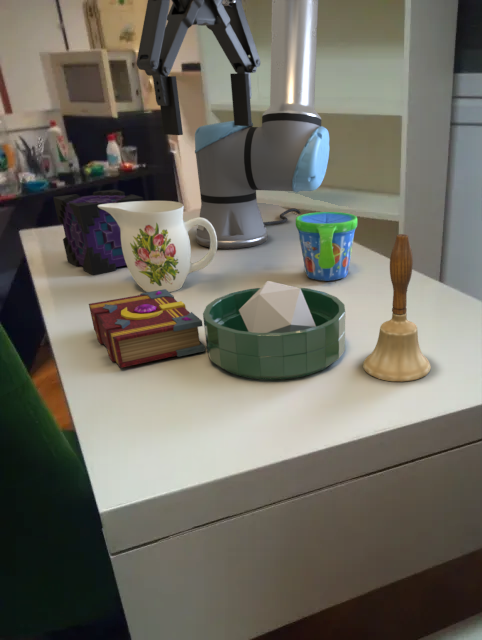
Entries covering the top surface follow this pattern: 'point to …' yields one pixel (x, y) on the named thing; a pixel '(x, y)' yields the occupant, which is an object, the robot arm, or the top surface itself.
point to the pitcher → (158, 242)
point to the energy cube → (92, 230)
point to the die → (276, 310)
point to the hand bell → (398, 327)
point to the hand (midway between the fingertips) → (210, 130)
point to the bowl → (274, 339)
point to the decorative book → (146, 328)
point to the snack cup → (326, 243)
